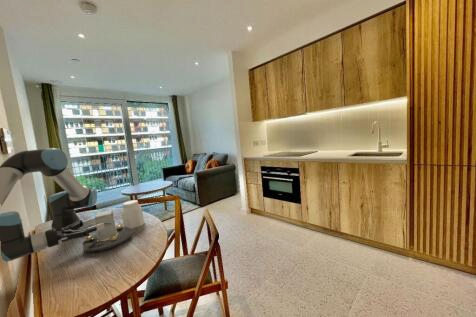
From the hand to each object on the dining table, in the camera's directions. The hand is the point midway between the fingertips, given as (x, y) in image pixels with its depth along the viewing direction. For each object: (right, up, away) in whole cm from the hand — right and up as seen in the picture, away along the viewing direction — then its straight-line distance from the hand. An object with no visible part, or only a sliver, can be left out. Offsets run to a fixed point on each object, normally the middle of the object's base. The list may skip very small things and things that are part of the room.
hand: (100, 222), depth 109 cm
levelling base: (+2, -12, +3) cm, 12 cm away
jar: (+6, -9, +23) cm, 25 cm away
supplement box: (+2, -8, +3) cm, 9 cm away
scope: (-27, -14, +15) cm, 34 cm away
